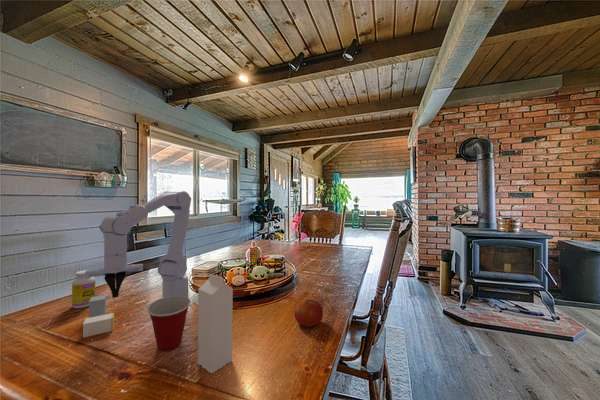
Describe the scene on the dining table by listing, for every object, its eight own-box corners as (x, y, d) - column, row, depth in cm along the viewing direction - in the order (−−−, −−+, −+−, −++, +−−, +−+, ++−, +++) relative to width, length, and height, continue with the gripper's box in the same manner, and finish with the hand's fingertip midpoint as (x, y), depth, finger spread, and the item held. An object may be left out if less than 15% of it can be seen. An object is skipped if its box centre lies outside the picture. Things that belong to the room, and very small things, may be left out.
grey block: (106, 314, 85) (106, 294, 85) (104, 319, 82) (104, 299, 82) (91, 317, 83) (91, 297, 83) (89, 322, 80) (89, 301, 79)
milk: (218, 352, 65) (219, 270, 65) (232, 361, 61) (233, 274, 61) (197, 364, 60) (198, 276, 60) (211, 375, 57) (212, 281, 57)
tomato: (290, 327, 78) (290, 302, 78) (300, 314, 86) (300, 292, 86) (317, 333, 74) (317, 307, 74) (325, 319, 83) (325, 296, 83)
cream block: (114, 312, 78) (85, 318, 74) (112, 317, 75) (82, 324, 71) (114, 325, 78) (85, 331, 74) (112, 330, 75) (82, 337, 71)
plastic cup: (142, 362, 60) (143, 315, 60) (150, 339, 70) (150, 298, 70) (190, 352, 65) (190, 307, 65) (190, 331, 75) (191, 293, 75)
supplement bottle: (81, 309, 88) (81, 274, 88) (67, 308, 90) (67, 273, 90) (99, 302, 95) (99, 269, 95) (86, 300, 96) (86, 268, 96)
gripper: (82, 259, 69) (82, 306, 70) (143, 253, 77) (142, 295, 78) (87, 254, 75) (87, 297, 75) (142, 249, 83) (142, 288, 83)
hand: (115, 296), depth 77 cm, fingers closed
